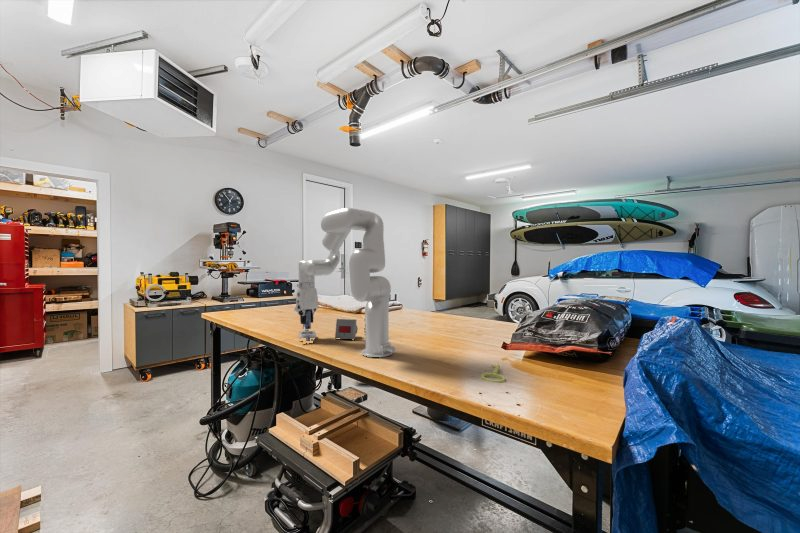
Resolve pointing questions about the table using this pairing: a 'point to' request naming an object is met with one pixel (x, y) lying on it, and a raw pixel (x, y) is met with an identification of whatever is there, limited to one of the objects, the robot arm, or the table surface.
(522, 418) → the table surface
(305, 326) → the pin
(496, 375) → the key
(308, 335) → the chain ends
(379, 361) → the table surface
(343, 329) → the voltmeter
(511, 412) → the table surface
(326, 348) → the table surface
